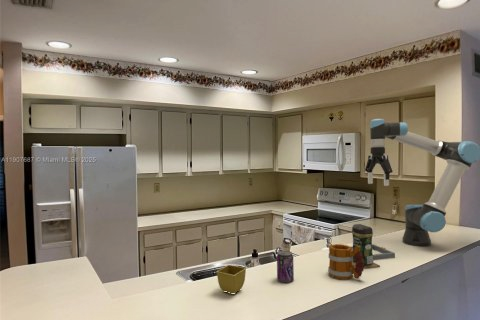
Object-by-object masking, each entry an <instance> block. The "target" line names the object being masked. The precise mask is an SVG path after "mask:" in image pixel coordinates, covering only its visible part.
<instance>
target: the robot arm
mask: <svg viewBox="0 0 480 320" xmlns="http://www.w3.org/2000/svg"><path fill="white" fill-rule="evenodd" d="M369 124H370V126H369V130H370V131H369V133H370V154H371V155H368V157H367V162H366V165H365V168H364V171H365V172H366V173H367V184H368V185H371V184H372V185H373V183H374V179H373V178H374V174H373V173H374V172H373V170H374V168H375V166H376V165H377V164H378V165H380V167H381V169H382V171H383V186H384V187H388V186H390V174H391V173H393V171H394V170H393V169H392V166H391V162H390V160H389V155H388V154H387V155H385V154H386V147H385V146H386V139H389V140H393V141H395V142H398V143H401V144H403V145H406V146H407V145H408V146H410V147H413V148H416V149H419V150H422V151H425V152H427V153H431V155H432V156H434V157H437V158H440V159H442V160H445V161H446V163H447V165H446V167H445V169H444V170H443V172H442V175H441V176H440V179H439V181H438V182H437V184H436V186H435V188H434V190H433V191H432V194H431V196H430V198H429V199H428V201H427V202H424V203H423V204H407V205H405V208H404V213H405V214H404V215H405V224H404V225H405V229H404V232H403V236H402V243H403V244H405V245H409V246H414V247H415V246H417V247H428V246H429V247H430V246H431V245H432V239H431V237H430V235H429V233H438V232H440V231H442V230H443V229H444V228H445V227H446V224H447V221H446V215H447V211H446V207H447V206H448V204H449V202H450V200H451V198H452V196H453V194H454V192H455V190H456V189H457V186H458V184H459V183H460V180H461V178H462V176H463V175H464V173H465V171H468V170H470V169H471V167H472V164H474V163H476V162H479V160H480V146H479V144H478V143H476V142H474V141H467V140H464V141H453V142H452V141H451V142H450V141H443V140H439V139H438V140H435V139H432V138H429V137H425V136H423V135H420V134H417V133H413V132H412V131H409V127H408V124H407V123H406V122H401V121H400V122H386V120H385V119H384V118H374V119H372V120H371V121H370V123H369Z"/></svg>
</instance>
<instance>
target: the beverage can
mask: <svg viewBox="0 0 480 320" xmlns="http://www.w3.org/2000/svg"><path fill="white" fill-rule="evenodd" d="M294 267H295V266H294V255H293V252H292V251H289V250H278V252H277V255H276V277H277V278H276V279H277V280H278V281H279V282H281V281H282V282H281V283H291V282H293V281H294V279H295V275H294Z"/></svg>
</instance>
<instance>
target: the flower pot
mask: <svg viewBox="0 0 480 320" xmlns="http://www.w3.org/2000/svg"><path fill="white" fill-rule="evenodd" d="M246 270H247V268H245V267H241V266H237V265H234V264H233V265H232V264H228V265H226V266H224V267H222V268H220V269H218V270H217V271H216V276H217V282H218V286H219V288H220V290H221V291H222V290H223V291H227V292H230V293H236V292H237V291H239V290H240V289H241V290H242V288H243V286H244V284H245V280H246ZM241 290H240V291H241ZM223 291H222V292H223ZM240 291H239V292H240ZM237 293H238V292H237ZM237 293H236V294H237Z"/></svg>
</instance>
